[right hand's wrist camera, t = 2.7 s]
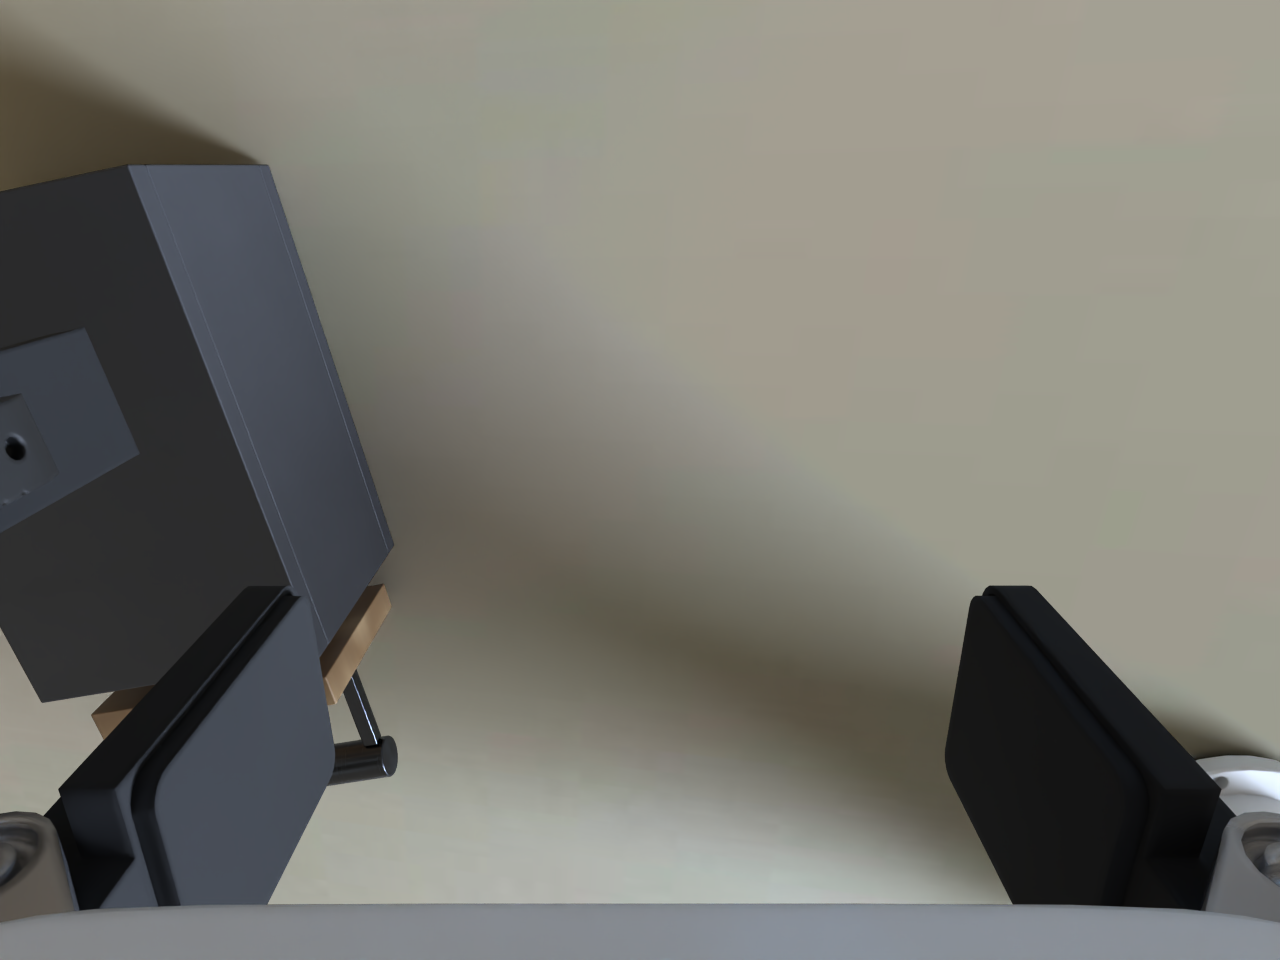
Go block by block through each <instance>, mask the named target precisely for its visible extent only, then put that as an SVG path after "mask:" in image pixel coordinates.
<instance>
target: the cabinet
mask: <svg viewBox="0 0 1280 960" xmlns="http://www.w3.org/2000/svg"><path fill="white" fill-rule="evenodd" d="M83 327H85V330H86V332H87V334H88V337H89V339H90V341H91V343H92V346H93V348H94V350H95V352H96V355H97V357H98V359H99V362H100V364H101V366H102V368H103V371H104V373H105V375H106V378H107V380H108V382H109V384H110V387H111V389H112V391H113V394H114V396H115V398H116V400H117V403H118V405H119V407H120V409H121V412H122V414H123V416H124V419H125V421H126V423H127V425H128V428H129V430H130V432H131V435H132V437H133V439H134V441H135V444H136V446H137V448H138V451H139V453H140V454H138V455H137V456H135V457H133V458H131V459H130V460H128V461H126V462H124V463H123V464H121V465H119V466H117V467H115V468H114V469H112V470H110V471H108V472H107V473H105V474H103V475H101V476H100V477H98V478H96V479H94V480H93V481H91V482H89V483H87V484H86V485H84V486H82V487H80V488H79V489H77V490H75V491H73V492H72V493H70V494H68V495H66V496H64V497H63V498H61V499H59V500H57V501H56V502H54V503H52V504H50V505H49V506H47V507H45V508H43V509H42V510H40V511H38V512H36V513H35V514H33V515H31V516H29V517H28V518H26V519H24V520H22V521H21V522H19V523H17V524H15V525H13V526H12V527H10V528H8V529H6V530H5V531H3V532H1V533H0V628H1V629H2V631H3V633H4V635H5V637H6V639H7V640H8V642H9V644H10V646H11V648H12V649H13V651H14V653H15V655H16V657H17V659H18V660H19V662H20V664H21V666H22V668H23V670H24V671H25V673H26V675H27V677H28V679H29V681H30V682H31V684H32V686H33V688H34V690H35V691H36V693H37V695H38V697H39V699H40V701H41V702H42V703H45V702H51V701H57V700H63V699H69V698H75V697H81V696H87V695H94V694H100V693H106V692H112V691H118V690H124V689H130V688H137V687H143V686H149V685H155V684H156V683H157V682H158V681H159V680H160V679H161V678H162V677H163V676H164V675H165V674H166V673H167V671H168V670H169V669H170V668H171V667H172V666H173V665H174V664H175V663H176V662H177V661H178V660H179V659H180V657H181V656H182V655H183V654H184V653H185V652H186V651H187V650H188V649H189V648H190V647H191V646H192V645H193V643H194V642H195V641H196V640H197V639H198V638H199V637H200V636H201V635H202V634H203V633H204V632H205V631H206V629H207V628H208V627H209V626H210V625H211V624H212V623H213V622H214V621H215V620H216V619H217V618H218V617H219V615H220V614H221V613H222V612H223V611H224V610H225V609H226V608H227V607H228V606H229V605H230V604H231V603H232V601H233V600H234V599H235V598H236V597H237V596H238V595H239V594H240V593H241V592H242V591H243V590H244V589H245V588H246V587H248V586H292V587H293V588H294V589H295V591H296V592H297V595H298V596H305V597H307V599H308V600H309V603H310V607H311V613H312V618H313V624H314V630H315V636H316V642H317V648H318V654H319V657H320V656H321V655H322V653H323V652H324V650H325V649H326V647H327V646H328V644H329V643H330V641H331V640H332V638H333V637H334V635H335V634H336V632H337V631H338V629H339V628H340V626H341V625H342V623H343V622H344V620H345V619H346V617H347V616H348V614H349V613H350V611H351V610H352V608H353V607H354V605H355V604H356V602H357V601H358V599H359V597H360V596H361V594H362V593H363V591H364V590H365V588H366V587H367V585H368V584H369V582H370V581H371V579H372V578H373V576H374V575H375V573H376V572H377V570H378V569H379V567H380V566H381V564H382V563H383V561H384V560H385V558H386V557H387V555H388V553H389V552H390V550H391V549H392V547H393V546H394V544H393V541H392V538H391V534H390V531H389V528H388V525H387V522H386V519H385V516H384V513H383V510H382V507H381V504H380V501H379V498H378V495H377V492H376V489H375V486H374V483H373V480H372V477H371V474H370V471H369V468H368V465H367V462H366V459H365V456H364V453H363V450H362V447H361V444H360V441H359V438H358V435H357V432H356V429H355V426H354V423H353V420H352V417H351V414H350V411H349V407H348V404H347V401H346V398H345V395H344V392H343V389H342V386H341V383H340V380H339V377H338V374H337V371H336V368H335V365H334V362H333V359H332V356H331V353H330V350H329V347H328V344H327V341H326V338H325V335H324V332H323V329H322V326H321V323H320V320H319V317H318V314H317V311H316V308H315V305H314V302H313V299H312V296H311V293H310V290H309V287H308V283H307V280H306V277H305V274H304V271H303V268H302V265H301V262H300V259H299V256H298V253H297V250H296V247H295V244H294V241H293V238H292V235H291V232H290V229H289V226H288V223H287V220H286V217H285V214H284V211H283V208H282V205H281V202H280V199H279V196H278V193H277V190H276V187H275V184H274V181H273V178H272V175H271V172H270V169H269V166H268V165H161V164H145V165H138V164H127V165H122V166H118V167H113V168H108V169H104V170H99V171H94V172H89V173H85V174H80V175H75V176H71V177H66V178H61V179H56V180H52V181H47V182H42V183H38V184H33V185H28V186H24V187H19V188H14V189H9V190H5V191H0V348H2V347H6V346H9V345H13V344H16V343H20V342H23V341H27V340H31V339H34V338H38V337H41V336H45V335H48V334H53V333H58V332H63V331H68V330H73V329H78V328H83Z"/></svg>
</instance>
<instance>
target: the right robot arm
mask: <svg viewBox="0 0 1280 960" xmlns="http://www.w3.org/2000/svg"><path fill="white" fill-rule="evenodd" d="M334 763H335V748H334V742H333V736H332V730H331V724H330V718H329V712H328V707H327V701H326V695H325V689H324V683H323V677H322V671H321V665H320V660H319V654H318V648H317V642H316V636H315V630H314V624H313V618H312V613H311V607H310V603H309V600H308V599H307V597H305V596H298V595H297V592H296V591H295V589H294V588H293V587H292V586H248V587H246V588H245V589H244V590H243V591H242V592H241V593H240V594H239V595H238V596H237V597H236V598H235V599H234V600H233V601H232V603H231V604H230V605H229V606H228V607H227V608H226V609H225V610H224V611H223V612H222V613H221V614H220V615H219V617H218V618H217V619H216V620H215V621H214V622H213V623H212V624H211V625H210V626H209V627H208V628H207V629H206V631H205V632H204V633H203V634H202V635H201V636H200V637H199V638H198V639H197V640H196V641H195V642H194V643H193V645H192V646H191V647H190V648H189V649H188V650H187V651H186V652H185V653H184V654H183V655H182V656H181V657H180V659H179V660H178V661H177V662H176V663H175V664H174V665H173V666H172V667H171V668H170V669H169V670H168V671H167V673H166V674H165V675H164V676H163V677H162V678H161V679H160V680H159V681H158V682H157V683H156V684H155V685H154V687H153V688H152V689H151V690H150V691H149V692H148V693H147V694H146V695H145V696H144V697H143V698H142V700H141V701H140V702H139V703H138V704H137V705H136V706H135V707H134V708H133V709H132V710H131V711H130V712H129V714H128V715H127V716H126V717H125V718H124V719H123V720H122V721H121V722H120V723H119V724H118V725H117V726H116V728H115V729H114V730H113V731H112V732H111V733H110V734H109V735H108V736H107V737H106V738H105V739H104V740H103V742H102V743H101V744H100V745H99V746H98V747H97V748H96V749H95V750H94V751H93V752H92V753H91V754H90V756H89V757H88V758H87V759H86V760H85V761H84V762H83V763H82V764H81V765H80V766H79V767H78V768H77V770H76V771H75V772H74V773H73V774H72V775H71V776H70V777H69V778H68V779H67V780H66V781H65V782H64V784H63V785H62V786H61V787H60V788H59V789H58V790H59V793H60V796H61V797H60V798H59V799H58V800H57V802H56V803H55V804H54V805H53V806H52V807H51V808H50V809H49V810H48V811H47V813H46V814H45V815H44V816H42V815H40V814H37V813H32V812H18V811H15V812H8V813H2V814H0V960H1280V762H1279V761H1276V760H1274V759H1268V758H1262V757H1256V756H1233V755H1226V756H1219V757H1212V758H1205V759H1198V760H1194V759H1193V758H1192V757H1191V756H1190V754H1189V753H1188V752H1187V751H1186V750H1185V749H1184V748H1183V747H1182V746H1181V745H1180V744H1179V743H1178V742H1177V740H1176V739H1175V738H1174V737H1173V736H1172V735H1171V734H1170V733H1169V732H1168V731H1167V730H1166V729H1165V728H1164V726H1163V725H1162V724H1161V723H1160V722H1159V721H1158V720H1157V719H1156V718H1155V717H1154V716H1153V715H1152V714H1151V712H1150V711H1149V710H1148V709H1147V708H1146V707H1145V706H1144V705H1143V704H1142V703H1141V702H1140V701H1139V700H1138V698H1137V697H1136V696H1135V695H1134V694H1133V693H1132V692H1131V691H1130V690H1129V689H1128V688H1127V687H1126V686H1125V684H1124V683H1123V682H1122V681H1121V680H1120V679H1119V678H1118V677H1117V676H1116V675H1115V674H1114V673H1113V671H1112V670H1111V669H1110V668H1109V667H1108V666H1107V665H1106V664H1105V663H1104V662H1103V661H1102V660H1101V659H1100V657H1099V656H1098V655H1097V654H1096V653H1095V652H1094V651H1093V650H1092V649H1091V648H1090V647H1089V646H1088V645H1087V643H1086V642H1085V641H1084V640H1083V639H1082V638H1081V637H1080V636H1079V635H1078V634H1077V633H1076V632H1075V631H1074V629H1073V628H1072V627H1071V626H1070V625H1069V624H1068V623H1067V622H1066V621H1065V620H1064V619H1063V618H1062V617H1061V615H1060V614H1059V613H1058V612H1057V611H1056V610H1055V609H1054V608H1053V607H1052V606H1051V605H1050V604H1049V603H1048V601H1047V600H1046V599H1045V598H1044V597H1043V596H1042V595H1041V594H1040V593H1039V592H1038V591H1037V590H1036V589H1035V588H1034V587H1032V586H988V587H987V588H986V589H985V591H984V592H983V595H982V596H975V597H973V599H972V600H971V603H970V607H969V613H968V618H967V624H966V630H965V636H964V642H963V648H962V654H961V660H960V665H959V671H958V677H957V683H956V689H955V695H954V701H953V706H952V712H951V718H950V724H949V730H948V736H947V742H946V748H945V763H946V769H947V773H948V776H949V778H950V780H951V782H952V784H953V786H954V788H955V790H956V792H957V794H958V796H959V798H960V800H961V802H962V804H963V806H964V808H965V810H966V812H967V814H968V816H969V818H970V820H971V822H972V824H973V826H974V828H975V830H976V832H977V834H978V836H979V838H980V840H981V842H982V844H983V846H984V848H985V850H986V852H987V854H988V856H989V858H990V860H991V862H992V864H993V866H994V868H995V870H996V872H997V874H998V876H999V878H1000V880H1001V882H1002V884H1003V886H1004V888H1005V890H1006V892H1007V894H1008V896H1009V898H1010V900H1011V902H1012V904H1013V905H1008V904H272V905H267V904H268V902H269V900H270V898H271V896H272V894H273V892H274V890H275V888H276V886H277V884H278V882H279V880H280V878H281V876H282V874H283V872H284V870H285V868H286V866H287V864H288V862H289V860H290V858H291V856H292V854H293V852H294V850H295V848H296V846H297V844H298V842H299V840H300V838H301V836H302V834H303V832H304V830H305V828H306V826H307V824H308V822H309V820H310V818H311V816H312V814H313V812H314V810H315V808H316V806H317V804H318V802H319V800H320V798H321V796H322V794H323V792H324V790H325V788H326V786H327V784H328V782H329V780H330V778H331V776H332V773H333V769H334Z"/></svg>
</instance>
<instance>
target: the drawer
mask: <svg viewBox="0 0 1280 960" xmlns="http://www.w3.org/2000/svg"><path fill="white" fill-rule="evenodd" d="M391 607H392V606H391V603H390V600H389V598H388V595H387V592H386V589H385V586H384V584H379V585H373V586H367V587H366V588H365V590H364V591H363V593H362V594H361V596H360V597H359V599H358V601H357V602H356V604H355V605H354V607H353V608H352V610H351V611H350V613H349V614H348V616H347V617H346V619H345V620H344V622H343V623H342V625H341V626H340V628H339V629H338V631H337V632H336V634H335V635H334V637H333V638H332V640H331V641H330V643H329V644H328V646H327V647H326V649H325V650H324V652H323V653H322V655H321V656H320V657H319V660H320V665H321V671H322V677H323V683H324V689H325V695H326V701H327V705H333V704H336V703H337V701H338V700H339V698H340V696H341V695H342V693H344V696H345V698H346V701H347V703H348V706H349V709H350V711H351V714H352V716H353V719H354V722H355V724H356V727H357V729H358V732H359V735H360V737H361V740H356V741H350V742H343V743H337V744H334V748H335V763H334V769H333V773H332V776H331V778H330V780H329V782H328V784H327V786H331V785H337V784H344V783H351V782H357V781H364V780H371V779H377V778H384V777H390V776H392V775H393V774H394V773H395V771H396V768H397V762H398V753H397V747H396V743H395V741H394V739H393V738H392V737H391V736H382V737H381V734H380V731H379V729H378V726H377V723H376V721H375V718H374V715H373V713H372V710H371V707H370V704H369V702H368V699H367V696H366V694H365V691H364V688H363V686H362V683H361V680H360V678H359V675H358V672H357V670H356V668H357V667H358V665H359V663H360V661H361V660H362V658H363V656H364V654H365V653H366V651H367V649H368V647H369V646H370V644H371V642H372V640H373V639H374V637H375V635H376V633H377V632H378V630H379V628H380V626H381V625H382V623H383V621H384V619H385V618H386V616H387V614H388V612H389V611H390V609H391ZM153 687H154V685H149V686H143V687H137V688H130V689H124V690H118V691H115V692H114V693H113V694H112V695H111V696H109V697H108V698H107V699H106V700H105V701H104V702H103V703H102V704H101V705H100V706H99V707H98V708H97V709H96V710H95V711H94V712H93V713H92V714H91V716H92V718H93V720H94V722H95V724H96V726H97V728H98V729H99V731H100V733H101V735H102V737H103V739H105V738H106V737H107V736H108V735H109V734H110V733H111V732H112V731H113V730H114V729H115V728H116V726H117V725H118V724H119V723H120V722H121V721H122V720H123V719H124V718H125V717H126V716H127V715H128V714H129V712H130V711H131V710H132V709H133V708H134V707H135V706H136V705H137V704H138V703H139V702H140V701H141V700H142V698H143V697H144V696H145V695H146V694H147V693H148V692H149V691H150V690H151V689H152V688H153Z"/></svg>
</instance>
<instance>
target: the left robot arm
mask: <svg viewBox="0 0 1280 960" xmlns="http://www.w3.org/2000/svg"><path fill="white" fill-rule="evenodd" d="M138 454H140V453H139V451H138V448H137V446H136V444H135V441H134V439H133V437H132V435H131V432H130V430H129V428H128V425H127V423H126V421H125V419H124V416H123V414H122V412H121V409H120V407H119V405H118V403H117V400H116V398H115V396H114V394H113V391H112V389H111V387H110V384H109V382H108V380H107V378H106V375H105V373H104V371H103V368H102V366H101V364H100V362H99V359H98V357H97V355H96V352H95V350H94V348H93V346H92V343H91V341H90V339H89V337H88V334H87V332H86V330H85V327H83V328H78V329H73V330H68V331H63V332H58V333H53V334H48V335H45V336H41V337H38V338H34V339H31V340H27V341H23V342H20V343H16V344H13V345H9V346H6V347H2V348H0V533H1V532H3V531H5V530H6V529H8V528H10V527H12V526H13V525H15V524H17V523H19V522H21V521H22V520H24V519H26V518H28V517H29V516H31V515H33V514H35V513H36V512H38V511H40V510H42V509H43V508H45V507H47V506H49V505H50V504H52V503H54V502H56V501H57V500H59V499H61V498H63V497H64V496H66V495H68V494H70V493H72V492H73V491H75V490H77V489H79V488H80V487H82V486H84V485H86V484H87V483H89V482H91V481H93V480H94V479H96V478H98V477H100V476H101V475H103V474H105V473H107V472H108V471H110V470H112V469H114V468H115V467H117V466H119V465H121V464H123V463H124V462H126V461H128V460H130V459H131V458H133V457H135V456H137V455H138Z"/></svg>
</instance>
